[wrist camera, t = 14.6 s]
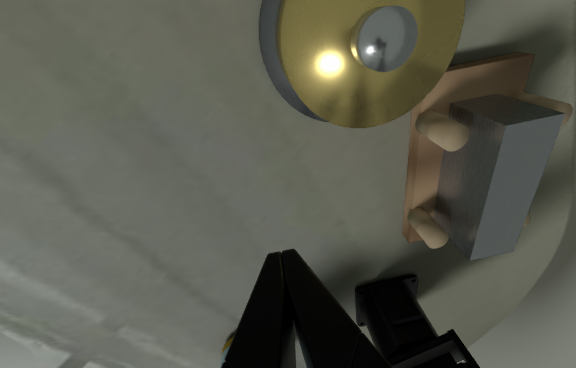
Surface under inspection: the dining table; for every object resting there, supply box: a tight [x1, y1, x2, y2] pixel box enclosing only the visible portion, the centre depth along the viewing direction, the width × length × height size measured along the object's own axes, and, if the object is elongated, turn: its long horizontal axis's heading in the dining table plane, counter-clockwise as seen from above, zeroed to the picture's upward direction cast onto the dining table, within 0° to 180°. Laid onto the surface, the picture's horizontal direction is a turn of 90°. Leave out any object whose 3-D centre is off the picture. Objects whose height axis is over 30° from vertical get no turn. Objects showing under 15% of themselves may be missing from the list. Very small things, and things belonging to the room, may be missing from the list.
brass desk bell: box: [259, 0, 418, 122], centre depth 14 cm, size 10×10×6 cm
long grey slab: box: [433, 93, 566, 261], centre depth 19 cm, size 10×3×4 cm, turn 9°
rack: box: [402, 52, 573, 249], centre depth 20 cm, size 14×8×4 cm, turn 9°
